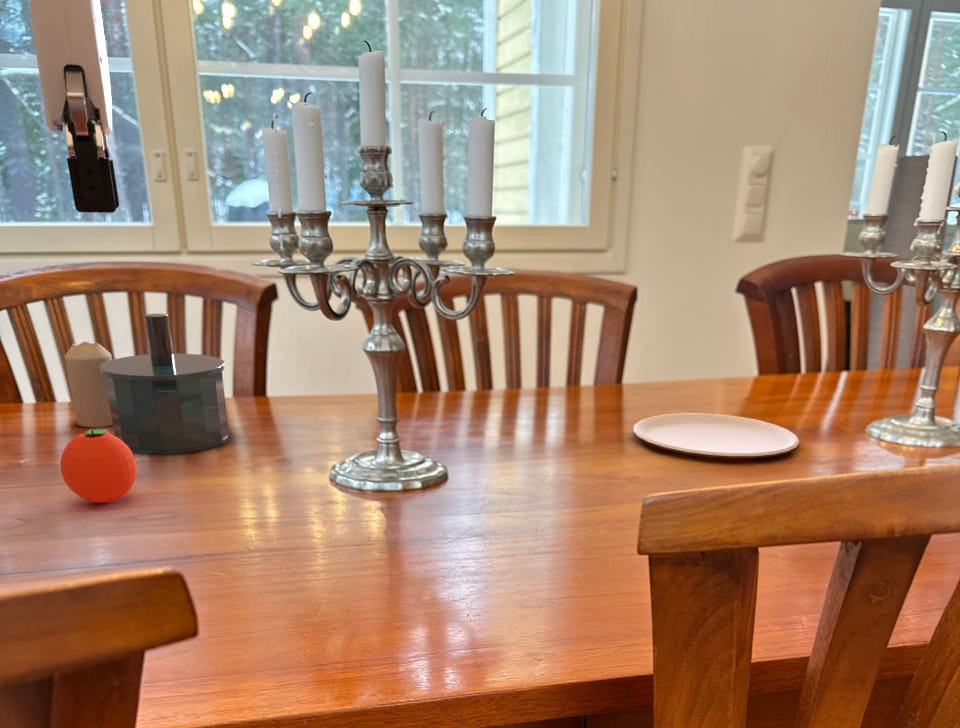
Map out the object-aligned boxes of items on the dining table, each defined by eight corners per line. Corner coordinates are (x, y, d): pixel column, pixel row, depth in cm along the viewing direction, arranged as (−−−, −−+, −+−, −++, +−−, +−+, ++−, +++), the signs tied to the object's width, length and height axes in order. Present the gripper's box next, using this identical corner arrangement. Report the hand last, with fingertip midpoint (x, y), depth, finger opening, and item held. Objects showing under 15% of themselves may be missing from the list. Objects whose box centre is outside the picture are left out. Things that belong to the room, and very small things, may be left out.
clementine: (74, 489, 93) (61, 420, 89) (145, 485, 94) (134, 418, 91) (62, 514, 86) (47, 441, 82) (138, 510, 87) (127, 438, 84)
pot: (114, 464, 101) (101, 387, 97) (118, 424, 116) (107, 357, 112) (234, 456, 104) (226, 382, 101) (223, 419, 120) (216, 353, 116)
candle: (77, 429, 114) (62, 347, 109) (76, 419, 118) (61, 340, 114) (123, 425, 116) (110, 345, 111) (120, 416, 120) (107, 338, 116)
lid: (98, 389, 99) (87, 325, 96) (103, 365, 111) (93, 308, 108) (230, 383, 103) (223, 322, 100) (221, 361, 115) (215, 306, 112)
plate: (669, 467, 104) (670, 457, 103) (609, 424, 122) (610, 414, 121) (830, 460, 108) (832, 450, 107) (750, 419, 126) (751, 410, 125)
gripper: (23, -12, 78) (61, 206, 86) (-6, -54, 63) (43, 213, 71) (115, -5, 80) (144, 207, 88) (107, -44, 66) (143, 214, 73)
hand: (99, 209), depth 80 cm, fingers open, 9 cm apart
